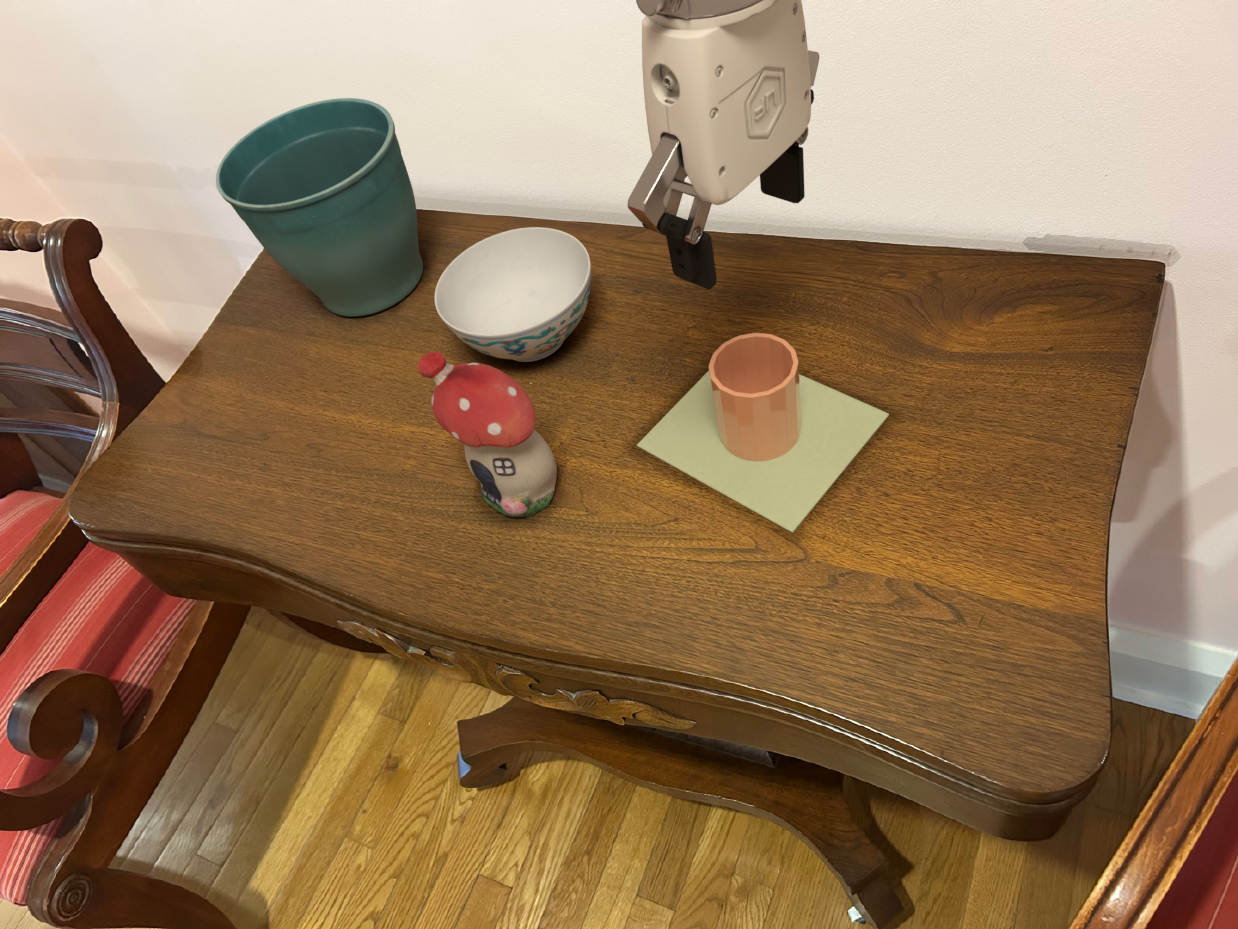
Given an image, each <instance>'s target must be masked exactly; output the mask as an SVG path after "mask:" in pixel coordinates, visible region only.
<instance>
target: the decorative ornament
mask: <svg viewBox="0 0 1238 929" xmlns="http://www.w3.org/2000/svg"><path fill="white" fill-rule="evenodd" d="M446 359H447V358H446V357H445V355H444V354H443V353H442V352H440V351H435V350H433V351H428V352H426V354H425V355H423V356H422V357H421V358H420V359H419V361H418V363H417V370H418V372H419V374H420V375H421V376H422V377H424V378H429V379H431V380H432V381H433V382H434V383H435V389H434V390H433V393H432V395H431V408H432V413H433V416H434V418H435V420H436V421H437V423H438V425H439V426H440V427H441V428H442V429H443V430H445V431H446V432H447V433H449V434H450V436H451V437H452V438H453V439H455V440H456V441H458V442H459V443H461V444H463V446H464V449H463V450H464V457H465V461H466V464H467V467H468V470H470V473H471V474H472V475H473V477H474V478H475V479H476V480H477V481H478V482H479V483H480V486H481V488H480V493H481V497H482V498H483V500H484V501H485V503H486V504H487V505H488V506H490V507H491V508H492V509H494V510H495V511H497V512H498V513H500V514H502V515H503V516H507V517H509V518H526V517H529V518H530V517H532V516H534V515H536V514H538V513H539V512H541V511H543V509H545V508H548V507H549V506H550V503H551V502H552V500H553V498H554V496H555V492H556V491H555V490H556V484H557V476H558V475H557V474H558V467H557V462H556V461H557V460H556V458H555V455H554V453H553V451H552V449H551V447H550V446H549V444H548V443H547V441H546V440H545V438H544V437H543V436H542V435H541V434H540V433H539V432H538V431H537V430H535V428H536V422H537V417H536V416H537V415H536V411H535V406H534V404H533V401H532V399H531V397H530V395H529V394H528V393H527V391H526V390H525V389H524V388H523V386H521V385H520V383H518V381H516V380H515V379H514V378H512V377H511V376H509V375H508V374H507V373H506V372H503V371H502V370H500V369H498V368H496V367H494V366H491V365H490V364H489V365H488V364H484V363H479V362H469V363H468V362H467V363H459V364H451V363H448V362H447V360H446Z"/></svg>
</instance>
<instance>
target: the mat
mask: <svg viewBox="0 0 1238 929" xmlns="http://www.w3.org/2000/svg"><path fill="white" fill-rule="evenodd" d="M799 383H800V405H801V431H800V436H799V439H798V440H797V442H796V444H795V445H794V446H793V447H792V448H791V449H790V450H789V451H788V452H787V453H785V454H783V455H782V456H780V457H777V458H775V459H771V460H767V461H749V460H744V459H741V458H739V457H736V456H735V455H733V454H731V453H730V452H729V451H728V450H727V449H726V448H725V447H724V445H723V444H722V441H721V439H720V434H719V429H718V423H717V416H716V410H715V404H714V398H713V392H712V386H711V379H710V373H709V370H708V371H707V372H706V373H704V375H703V376H702V377H701V378H699V380H698V381H697V382H696V383H695V384H694V385H693V386H692V387H691V388H690V389H689V391H687V392H686V394H685V395H683V396H682V397H681V398H680V399H679V401H678V402H677V403H676V404H675V405H674V406H673V407H672V408H671V409H670V410H669V411H668V412H667V413H666V414H665V415H664V416H663V417H662V418H661V419H660V420H659V422H658V423H656V425H655V426H653V428H652V429H651V430H650V431H648V432H647V434H646V435H645V436H644V437H643V438H641V440H640V441H639V442H638V443H637V444H636V447H637V448H639V449H640V450H642V451H644V452H646V453H648V454H650V455H651V456H653V457H655V458H657V459H658V460H661V461H662V462H664V463H666V464H667V465H670V466H671V467H673V468H675V469H677V470H678V471H680V472H681V473H684V474H685V475H687V476H689V477H691V478H692V479H694V480H696V481H698V482H700V483H701V484H703V485H705V486H707V487H709V488H710V489H712V490H714V491H716V492H718V493H720V494H721V495H723V496H725V497H726V498H729V499H730V500H732V501H734V502H736V503H738V504H739V505H741V506H743V507H744V508H746V509H748V510H750V511H752V512H754V513H755V514H757V515H759V516H761V517H762V518H764V519H766V520H768V521H770V522H771V523H773V524H775V525H776V526H779V527H780V528H782V529H785V530H786V531H787V532H789V533H791V534H793V533H794V532H795V531H796V530H797V529H798V528H799V526H800V525H801V524H802V523H803V521H804V520H805V519H806V517H807V516H808V515H809V514H810V513H811V512H812V510H814V508H815V507H816V505H817V504H818V503H819V502H820V501H821V500H822V498H823V497H824V496H825V495H826V494H827V492H828V491H829V490H830V488H831V487H832V486H833V485H834V484H835V482H836V481H837V480H838V479H839V477H840V476H841V475H842V474H843V473H844V471H845V470H846V469H847V468H848V466H849V465H850V464H851V462H852V461H853V460H854V459H855V458H856V457H857V455H859V453H860V452H861V450H862V449H863V448H864V447H865V446H866V445H867V443H868V442H869V441H870V440H871V438H873V436H874V435H875V434H876V432H877V431H878V429H879V428H880V427H881V426H882V425H883V423H884V422H885V421H886V420H887V418H888V417H889V416H890V413H888V412H886V411H884V410H881V409H879V408H877V407H875V406H873V405H871V404H868V403H866V402H863V401H861V400H860V399H859V400H858V399H856V398H855V397H852V396H850V395H848V394H845V393H843V392H841V391H839V390H836V389H834V388H832V387H830V386H827V385H825V384H822V383H820V382H818V381H816V380H813V379H811V378H809V377H807V376H805V375H803V374H801V373H799Z"/></svg>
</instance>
